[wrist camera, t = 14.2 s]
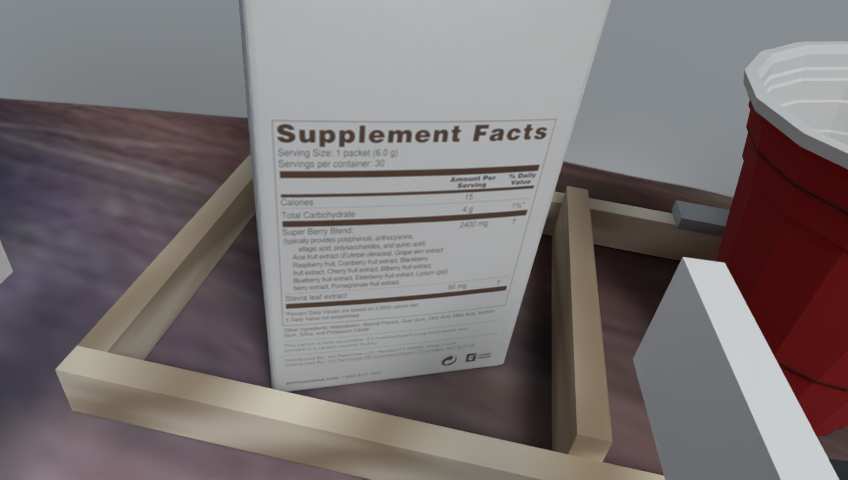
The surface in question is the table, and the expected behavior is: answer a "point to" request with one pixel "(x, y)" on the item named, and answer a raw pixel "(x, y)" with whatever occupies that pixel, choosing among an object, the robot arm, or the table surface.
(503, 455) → the wooden frame
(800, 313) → the plastic cup
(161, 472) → the table surface
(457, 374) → the table surface
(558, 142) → the supplement box
